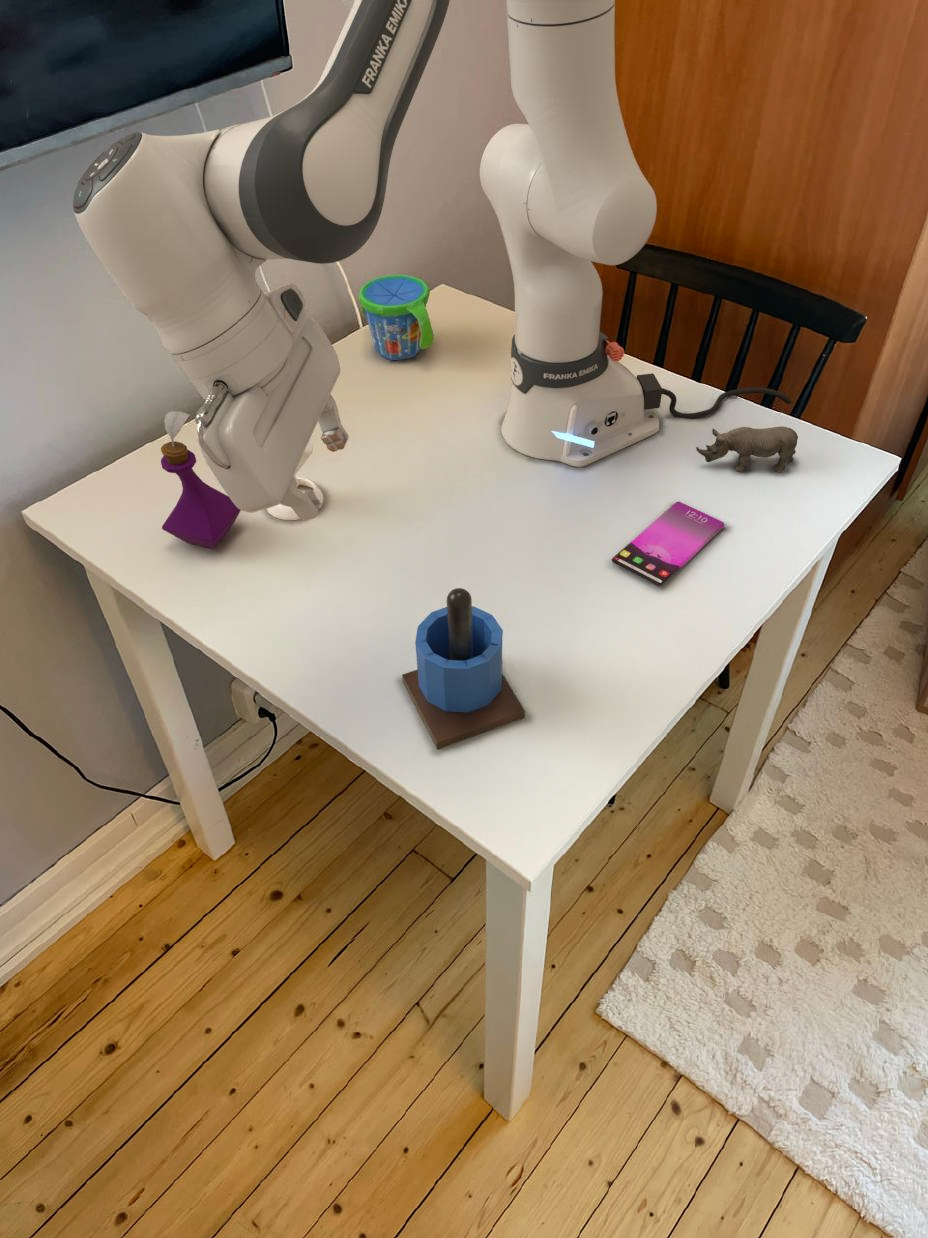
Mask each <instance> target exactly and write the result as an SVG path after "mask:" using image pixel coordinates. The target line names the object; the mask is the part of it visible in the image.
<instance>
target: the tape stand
mask: <svg viewBox="0 0 928 1238" xmlns="http://www.w3.org/2000/svg"><path fill="white" fill-rule="evenodd" d="M472 606H473V598H472V596H471V594H470V592H469V591H468V590H466V589H465V588H462V587H457V588H454V589H452V590H451V591H449V593H448V594H447V597H446V607H447V617H448V638H449V659H448V660H460V661H466V660H469V659H471V658H473V639H472ZM401 678H402V683H403V685H404V688H405V689H406V691H407V693H408V695H409V697H410V699H411V701H412V703H413V705H414V707H415V710H416V712H417V713H418V715H419V717H420V719H421V721H422V723H423V725H424V727H425V729H426V731H427V732H428V734H429V736H430V738H431V741H432V742H433V744H434V747H435V749H436V750H439V749H443V748H446V747H447V746H450V745H453V744H456V743H459V742H462V741H464V740H468V739H470V738H473V737H476V736H479V735H481V734H483V733H487V732H489V731H492V730H495V729H498V728H501V727H503V726H506V725H508V724H511V723H514V722H517V721H520V720H523V719H525V718H526V710H525V708H524V706H523V705H522V703H521V702H520V699H519V698H518V697H517V695H516V694H515V692H514V690H513V689H512V687H511V686H510V684H509V682H508V681H507V679H506V677H505V676H504V674H503V673H502V682H501V691H500V692H499V693H498V694H497V696H496V697H495V698H494V699H493V700H492V701H491V703H490V704H489V705H487V706H484V707H482V708H479V709H476V710H474V711H471V712H468V713H466V712H447V711H444V710H442V709H441V708H439V707H437V706H435V705H433V704H431V703H429V702H428V701H427V699H426V698H425V696H424V694H423V693H422V691H421V689H420V687H419V680H418V669H417V668H416V669H415V670H412V671H409V672H405V673H403V674H401Z"/></svg>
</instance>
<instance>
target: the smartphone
mask: <svg viewBox="0 0 928 1238" xmlns="http://www.w3.org/2000/svg"><path fill="white" fill-rule="evenodd" d="M723 528H725V522H724V521H722V520H720V519H718V518H716V517H714V516H711V515H710V514H707V513H705V512H703V511H700V510H698V509H696V508H694V507H692V506H690V505H688V504H686V503H683V502H681V501H675V502H674V503H673V504H672V505H671V506H670V507H669V508H668V509H667V510H665V511H664V512H663V513H662V514H661V515H660V516H659V517H657V518H656V519H655V520H654V521H653V522H652V523H651V524H650V525H649V526H647V527H646V528H645V529H644V530H642V532H640V533H639V534H638V535H637V536H636V537H635V538H634V539H632V540H631V541H630V542H629V543H627V545H625V546H624V547H623V548H622V549H621V550H620V551H619V552H618V553H617V554H615V555H614V556H613V557H612V558H611V562H612V564H614V565H616V566H619V567H621V568H623V569H625V570H626V571H628V572H631V573H632V574H633V575H636V576H638V577H640V578H642V579H644V580H645V581H648V582H650V583H651V584H653V585H654V586H657V587H662V586H664V584H665V583H667V582H668V581H669V580H670V579H671V578H672V577H673V576H674V575H675V574H676V573H677V572H678V571H680V570H681V568H683V566H685V564H687V563H688V562H689V561H690V560H691V559H692V558H693V557H694V556H696V554H697V553H698V552H699V551H700V550H702V549H703V548H704V547H705V546H706V545H707V544H708V543H709V542H710V541H711V540H712V539H713V538H714V537H715V536H716V535H718V533H719V532H720V531H721V530H723Z"/></svg>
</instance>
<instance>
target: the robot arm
mask: <svg viewBox="0 0 928 1238" xmlns="http://www.w3.org/2000/svg"><path fill="white" fill-rule="evenodd" d="M450 1H451V0H340V2H341V3H342V4H343V5H344V7H345V8H347V9H348V10H349V14H348V15H347V17H346V20H345V23H344V25H343V27H342V30H341V31H340V34H339V36H338V38H337V41H336V43H335V45H334V47H333V49H332V52H331V53H330V56H329V58H328V61H327V63H326V65H325V67H324V69H323V72H322V73H321V75H320V78H319V80H318V81H317V83H316V85H315V87H314V88H313V89H312V90H311V91H310V92H309V93H308V94H307V95H306V96H305V97H303V98H302V99H301V100H299V101H298V102H297V103H295V104H294V105H292V106H290V107H288V108H286V109H284V110H283V111H281V112H278V113H277V114H275V115H272V116H268V117H264V118H261V119H256V120H252V121H247V122H242V123H237V124H234V125H230V126H226V127H222V128H217V129H213V130H209V131H204V132H198V133H191V134H181V135H155V134H154V135H153V134H147V133H145V132H142V131H135V132H132V133H128V134H126V135H124V136H123V137H120V138H119V139H118V140H116V141H114V143H112V144H111V145H110V146H109V147H108V148H107V149H106V150H104V151H102V153H100V154H99V155H98V156H97V157H96V158H95V160H93V162H92V163H91V164H90V165H89V166H88V167H87V168H86V170H85V172H84V173H82V176H81V177H80V179H79V180H78V181H77V186H76V188H75V190H74V193H73V200H72V207H73V214H74V216H75V219H76V221H77V224H78V226H79V228H80V230H81V232H82V234H83V236H84V238H85V239H86V241H87V243H88V245H89V247H91V249H92V251H93V252H94V254H95V256H96V257H97V258H98V260H99V262H100V263H101V265H102V266H103V268H104V269H105V270H106V272H107V274H108V275H109V276H110V278H111V279H112V280H113V282H114V283H115V285H116V286H117V288H118V289H119V290H120V291H121V293H122V294H123V295H124V297H125V298H126V300H127V301H128V302H129V304H130V305H131V306H133V308H135V309H136V310H137V311H138V312H140V313H141V314H143V315H144V316H145V318H147V319H148V320H149V321H150V322H151V324H152V325H153V327H154V328H155V330H156V331H157V333H158V335H159V338H160V341H161V344H162V345H163V347H164V349H165V350H166V352H167V353H168V354H169V356H170V357H171V358H172V359H173V361H174V362H175V363H176V365H177V366H178V367H179V369H180V370H181V372H183V374H184V376H185V377H186V378H187V379H188V380H189V382H190V383H191V385H193V387H194V388H195V389H196V391H197V392H198V393H199V395H200V396H201V398H203V399H204V400H205V401H204V403H203V405H202V406H200V407H199V409H198V410H197V412H196V414H195V418H194V422H195V424H196V433H197V437H196V440H197V443H198V445H199V448H200V452H201V454H202V456H203V458H204V460H205V462H206V464H207V466H208V467H209V469H210V471H211V472H212V474H213V476H214V477H215V479H216V480H217V481H218V484H219V485H220V486H221V488H222V489H223V491H224V492H225V493H226V495H227V496H229V498H230V499H231V500H232V502H233V503H234V504H235V506H236V507H237V508H238V509H240V510H241V511H243V512H244V513H251V514H253V513H257V512H262V511H264V510H266V509H268V508H271V507H274V506H276V505H278V504H280V505H283V506H288V507H291V508H292V509H293V510H294V512H295V513H296V514H297V516H298V517H299V518H300V519H299V520H301V521H302V520H303V521H307V520H310V519H311V520H312V519H314V518H316V517H317V516H318V513H319V510H320V509H321V507H322V506H321V502H320V501H319V500H318V499H317V497H316V495H315V494H314V490H312V489H311V490H308V491H305V492H303V491H302V490H300V489H298V487H297V485H298V482H297V481H296V480H295V478H294V477H293V475H294V473H295V471H296V468H297V466H298V464H299V462H300V460H301V457H302V455H303V453H304V451H305V449H306V446H307V444H308V442H310V439H311V437H312V435H313V433H314V431H315V430H316V426H317V424H318V426H319V428H320V430H321V432H322V434H321V437H320V440H321V441H322V443H323V444H324V445H326V448H327V450H328V451H330V452H332V453H335V452H338V451H339V450H344V449H345V447H346V445H347V443H348V441H349V439H350V437H349V433H348V432H347V431H346V428H344V427H343V425H342V421H341V418H340V414H339V410H338V407H337V403H336V400H335V398H334V397H333V395H332V391H333V390H334V387H335V385H336V383H337V381H338V378H339V376H340V374H341V366H340V360H339V357H338V353H337V351H336V349H335V348H334V347H333V345H332V343H331V341H330V339H329V337H328V336H327V334H326V333H325V331H324V330H323V328H322V326H321V325H320V322H318V320H317V319H316V318H315V315H313V314H312V312H311V311H309V310H308V309H306V304H307V301H306V297H305V295H304V294H303V292H302V290H301V289H300V288H299V286H298V285H296V284H295V283H289V284H286V285H283V286H280V287H277V288H275V289H272V290H270V291H268V292H264V291H263V290H262V288H261V286H260V285H259V284H258V282H257V280H256V272H257V270H258V269H259V267H261V266H262V265H263V264H264V263H265V262H267V261H268V260H293V261H299V262H305V263H313V264H319V265H321V264H322V265H323V264H327V265H328V264H332V263H338V262H340V261H343V260H346V259H347V258H349V257H351V256H353V255H354V254H356V253H357V252H358V251H359V250H360V249H361V248H362V247H363V246H365V244H366V243H367V242H368V240H369V239H371V236H372V234H373V233H374V232H375V229H376V228H377V226H378V223H379V220H380V218H381V214H382V211H383V207H384V202H385V198H386V192H387V191H386V190H387V183H388V177H389V170H390V164H391V159H392V154H393V150H394V146H395V144H396V140H397V137H398V134H399V132H400V130H401V126H402V125H403V122H404V119H405V118H406V114H407V112H408V110H409V108H410V106H411V104H412V101H413V98H414V96H415V93H416V91H417V89H418V86H419V83H420V81H421V79H422V77H423V74H424V71H425V69H426V67H427V65H428V62H429V60H430V58H431V55H432V52H433V51H434V48H435V45H436V42H437V41H438V38H439V35H440V34H441V33H440V32H441V30H442V27H443V24H444V22H445V18H446V15H447V12H448V9H449V5H450ZM615 1H616V0H506V1H505V3H506V4H505V5H506V22H507V23H506V24H507V39H508V41H507V42H508V58H509V73H510V74H509V75H510V87H511V91H512V95H513V98H514V100H515V101H514V102H515V103H516V105H517V106H518V109H519V110H520V111H521V113H522V114H523V116H524V119H526V122H527V123H511V124H509V125H506V126H504V127H502V128H501V129H499V130H498V131H497V132H496V133H495V134H494V135H493V136H492V137H491V138H490V140H489V141H488V143H487V145H486V146H485V149H484V151H483V152H482V156H481V159H480V163H479V164H480V165H479V180H480V181H479V182H480V185H481V189H482V191H483V192H484V194H485V196H486V197H487V200H489V202H490V205H491V206H492V209H493V210H494V213H495V216H496V218H497V220H498V223H499V226H500V230H501V233H502V237H503V241H504V244H505V248H506V252H507V257H508V260H509V264H510V268H511V274H512V279H513V287H514V289H513V291H514V334H513V336H512V338H511V345H510V348H511V349H510V365H509V366H510V379H511V387H510V393H509V399H508V404H507V409H506V412H505V416H504V418H503V421H502V423H501V427H500V429H501V435H502V437H503V439H504V441H505V443H506V444H508V445H509V446H510V447H511V448H512V449H513V450H515V451H517V452H519V453H520V454H522V455H525V456H528V457H530V458H535V459H540V460H547V461H554V462H555V461H556V462H560V463H563V464H566V465H568V466H572V467H576V468H583V467H586V466H588V465H591V464H593V463H595V462H597V461H598V460H601V459H604V458H606V457H607V456H610V455H612V454H614V453H617V452H619V451H621V450H622V449H624V448H626V447H629V446H632V445H633V444H636V443H639V442H640V441H642V440H645V439H647V438H649V437H651V436H653V435H655V434H657V433H658V432H659V431H660V419H659V415H658V413H657V412H656V410H655V409H661V403H662V396H663V395H665V396H666V397H668V398H669V399H670V403H669V407H668V410H669V413H670V414H671V415H672V416H674V417H675V418H677V419H678V418H679V419H686V420H687V419H688V420H689V419H690V420H692V419H698V418H702V417H707V416H710V415H712V414H715V413H716V412H717V411H718V409H719V408H720V407H721V405H722V402H723V401H724V400H725V399H726V398H730V397H733V396H739V395H744V394H745V395H746V394H763V395H764V394H766V395H770V396H774V397H776V398H778V399H780V400H781V401H782V402H784V403H785V404H787V405H790V404H793V401H792V399H791V398H789V397H788V396H787V395H786V394H784V393H783V392H780V391H778V390H775V389H773V388H767V387H744V388H738V389H737V388H736V389H732V390H728V391H725V392H723V393H721V394H719V396H718V397H717V398H716V401H715V402H714V404H713V406H712V407H710V408H708V409H705V410H701V411H697V412H691V413H684V412H680V411H678V410H676V406H677V402H678V401H677V396H676V394H675V393H674V392H672V390H670V389H667V388H663V387H662V386H661V383H660V382H659V381H658V379H657V377H656V376H655V374H654V373H643V374H637V375H636V376H635V374H634V373H633V372H632V371H631V370H630V369H629V368H628V367H627V366H625V365H624V364H623V363H621V362H620V361H621V360H622V358H624V356H625V350H624V348H623V347H622V346H621V345H620V344H619V343H618V342H617V341H611V342H610V341H609V337H608V336H607V335H606V334H605V333H603V332H602V331H600V329H601V317H602V305H603V296H604V295H603V294H604V291H603V284H602V280H601V278H600V277H601V276H600V274H599V273H598V271H597V269H596V267H595V266H594V263H597V264H601V265H606V266H618V265H622V264H624V263H626V262H628V261H629V260H631V259H632V258H634V257H635V256H636V255H637V254H638V253H639V252H640V251H641V250H642V249H643V248H644V246H645V245H646V243H647V242H648V240H650V239H649V238H650V237H651V235H652V233H653V230H654V228H655V224H656V219H657V212H658V205H657V202H658V201H657V196H656V193H655V190H654V189H653V187H652V186H651V184H650V183H649V181H648V179H646V177H645V175H644V173H643V171H642V170H641V168H640V166H639V164H638V162H637V159H636V157H635V155H634V152H633V150H632V147H631V143H630V141H629V137H628V134H627V131H626V126H625V122H624V118H623V116H622V110H621V106H620V102H619V96H618V90H617V83H616V58H615V57H616V52H615V50H616V49H615V44H616V43H615V26H616V25H615V23H616V21H615V19H616V17H615V15H616V14H615V12H616V7H615V6H616V5H615V4H616V2H615ZM298 486H299V485H298ZM296 487H297V488H296ZM320 506H321V507H320Z"/></svg>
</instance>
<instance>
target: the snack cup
mask: <svg viewBox="0 0 928 1238" xmlns="http://www.w3.org/2000/svg"><path fill="white" fill-rule="evenodd" d="M430 294H431V290H430V287H429V286H428V284H427V283H426V282H425V281H423V280H422V279H420V278H418V277H416V276H412V275H407V274H389V275H381V276H379V277H376V278H372V279H371V280H369V281H368V282H366V283H364V284H363V285H362V287H361V288H360V289H359V295H358V300H359V303H360V309H361V312H362V314H363V315H365V317H366V321H367V324H368V328H369V329H368V330H369V332H370V336H371V339H372V343H373V346H374V350H375V353H377V354H378V355H379V356H380V357H383V358H385V359H387V360H389V361H399V360H407V359H410V358H414V357H416V356H417V354H418V353H419V352H420V351H422V350H425V349H427V348H429V347H431V346H432V345H433V343H434V340H435V335H434V331H433V327H432V324H431V320H430V315H429V312H428V309H427V304H428V302H429V298H430Z"/></svg>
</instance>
